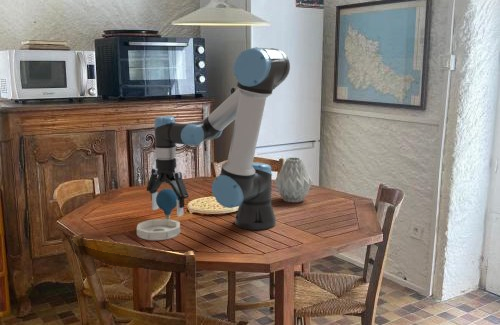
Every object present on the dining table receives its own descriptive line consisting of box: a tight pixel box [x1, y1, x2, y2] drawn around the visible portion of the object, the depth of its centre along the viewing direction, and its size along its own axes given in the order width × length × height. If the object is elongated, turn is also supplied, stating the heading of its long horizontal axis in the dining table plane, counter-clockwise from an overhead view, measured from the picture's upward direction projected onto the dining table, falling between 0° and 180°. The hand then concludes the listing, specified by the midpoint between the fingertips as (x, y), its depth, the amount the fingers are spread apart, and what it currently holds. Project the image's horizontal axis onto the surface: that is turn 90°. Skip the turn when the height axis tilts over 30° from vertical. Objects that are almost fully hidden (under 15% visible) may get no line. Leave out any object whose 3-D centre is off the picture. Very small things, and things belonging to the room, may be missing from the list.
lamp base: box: [136, 218, 181, 241], centre depth 179 cm, size 15×15×3 cm
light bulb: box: [156, 188, 178, 219], centre depth 194 cm, size 8×8×12 cm
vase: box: [274, 157, 313, 203], centre depth 220 cm, size 16×16×18 cm
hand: (167, 212), depth 194 cm, fingers open, 13 cm apart
